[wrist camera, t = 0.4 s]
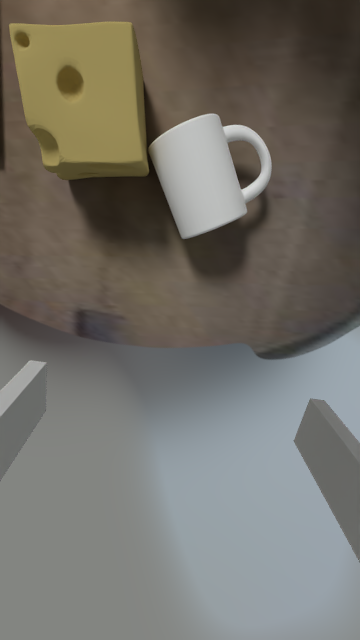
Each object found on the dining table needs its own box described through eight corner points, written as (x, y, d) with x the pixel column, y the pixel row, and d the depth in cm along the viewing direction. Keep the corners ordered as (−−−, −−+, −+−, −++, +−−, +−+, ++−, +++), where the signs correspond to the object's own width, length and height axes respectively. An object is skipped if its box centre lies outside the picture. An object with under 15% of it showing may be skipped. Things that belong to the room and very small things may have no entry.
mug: (180, 237, 37) (183, 242, 30) (150, 156, 34) (144, 139, 27) (269, 200, 36) (294, 196, 29) (245, 113, 33) (267, 82, 25)
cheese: (67, 181, 35) (28, 168, 25) (51, 72, 31) (-1, 9, 22) (152, 180, 35) (145, 166, 25) (147, 71, 31) (137, 8, 22)
